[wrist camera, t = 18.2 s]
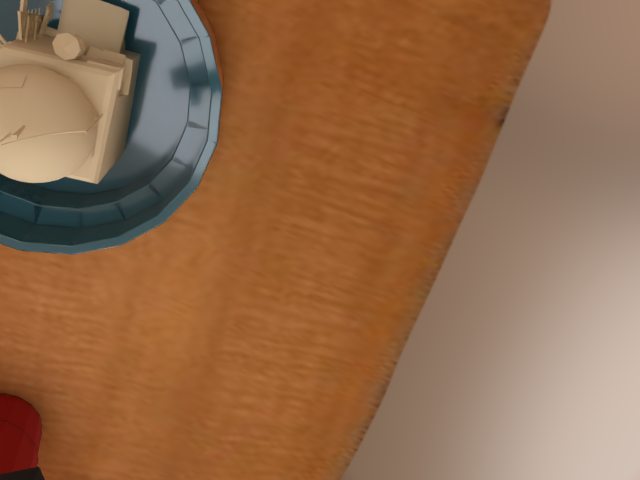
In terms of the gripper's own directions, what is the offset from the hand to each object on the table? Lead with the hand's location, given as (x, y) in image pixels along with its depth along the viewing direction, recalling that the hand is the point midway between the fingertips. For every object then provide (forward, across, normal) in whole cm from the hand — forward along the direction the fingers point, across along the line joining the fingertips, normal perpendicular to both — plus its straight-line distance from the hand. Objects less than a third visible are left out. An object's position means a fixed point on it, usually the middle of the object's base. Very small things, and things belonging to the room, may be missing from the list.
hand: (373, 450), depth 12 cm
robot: (+28, -12, +5) cm, 31 cm away
